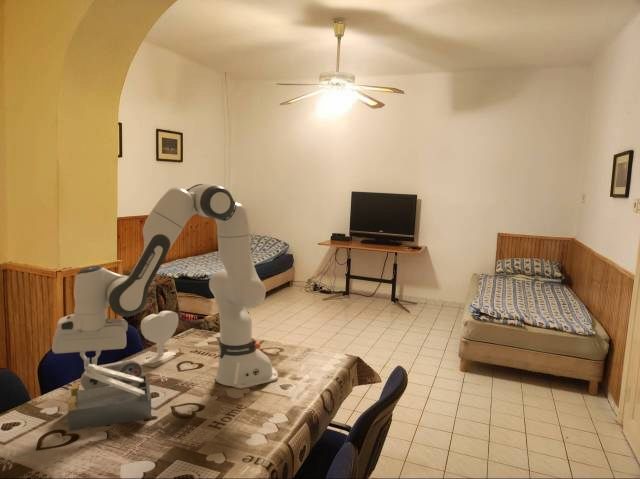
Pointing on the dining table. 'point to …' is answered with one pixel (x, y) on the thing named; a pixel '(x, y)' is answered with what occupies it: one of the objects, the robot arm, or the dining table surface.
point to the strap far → (113, 373)
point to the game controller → (124, 367)
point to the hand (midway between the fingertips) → (90, 364)
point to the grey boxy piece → (107, 406)
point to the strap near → (114, 382)
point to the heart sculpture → (159, 332)
